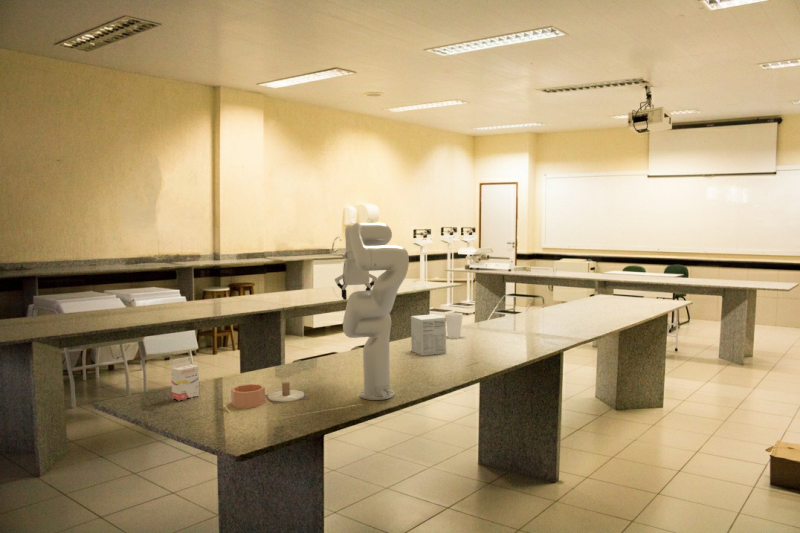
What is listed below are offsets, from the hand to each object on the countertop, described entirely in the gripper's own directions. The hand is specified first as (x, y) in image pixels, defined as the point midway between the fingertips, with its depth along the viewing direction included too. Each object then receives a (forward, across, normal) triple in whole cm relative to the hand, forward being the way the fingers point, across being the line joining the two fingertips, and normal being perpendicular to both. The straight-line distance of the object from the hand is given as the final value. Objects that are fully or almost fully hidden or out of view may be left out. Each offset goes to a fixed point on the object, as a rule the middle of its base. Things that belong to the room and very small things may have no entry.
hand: (356, 298), depth 250 cm
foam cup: (+33, +73, +66) cm, 104 cm away
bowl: (+33, -46, -20) cm, 60 cm away
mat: (+33, -32, -17) cm, 49 cm away
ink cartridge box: (+33, -66, -1) cm, 74 cm away
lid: (+32, -32, -17) cm, 48 cm away
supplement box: (+33, +46, +36) cm, 67 cm away
